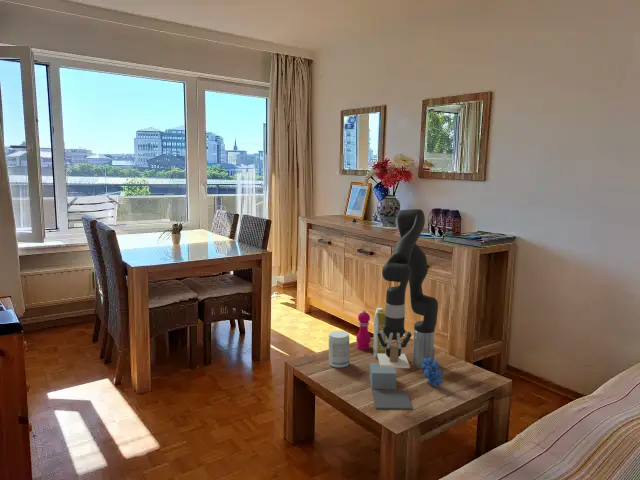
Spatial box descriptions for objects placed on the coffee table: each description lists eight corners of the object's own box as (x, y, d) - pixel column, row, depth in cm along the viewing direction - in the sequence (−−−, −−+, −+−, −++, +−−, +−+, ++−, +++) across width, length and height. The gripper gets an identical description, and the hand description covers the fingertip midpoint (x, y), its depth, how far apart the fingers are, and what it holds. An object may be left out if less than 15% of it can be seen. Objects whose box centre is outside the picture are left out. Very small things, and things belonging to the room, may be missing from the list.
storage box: (392, 378, 204) (392, 363, 203) (395, 389, 195) (396, 373, 193) (369, 378, 205) (369, 362, 203) (371, 388, 195) (372, 373, 194)
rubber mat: (406, 391, 193) (406, 390, 192) (412, 409, 179) (412, 408, 179) (372, 391, 193) (372, 389, 193) (375, 408, 179) (375, 407, 179)
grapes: (414, 381, 202) (415, 355, 200) (425, 378, 205) (427, 352, 203) (433, 393, 192) (435, 365, 190) (445, 389, 195) (447, 362, 193)
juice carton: (373, 351, 233) (374, 305, 229) (389, 352, 232) (391, 306, 228) (372, 359, 224) (374, 311, 220) (389, 360, 223) (391, 311, 219)
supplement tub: (353, 364, 218) (354, 334, 216) (339, 370, 212) (339, 339, 209) (338, 357, 225) (338, 328, 223) (324, 363, 219) (324, 333, 216)
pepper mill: (371, 346, 240) (372, 308, 237) (368, 351, 234) (369, 312, 230) (358, 344, 243) (359, 306, 239) (354, 349, 236) (355, 311, 233)
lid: (404, 356, 189) (405, 340, 187) (409, 368, 178) (410, 351, 177) (377, 355, 189) (377, 340, 188) (380, 367, 178) (381, 351, 177)
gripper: (411, 311, 184) (409, 353, 186) (375, 310, 184) (374, 352, 187) (415, 317, 176) (412, 361, 179) (377, 317, 176) (376, 360, 179)
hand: (393, 356), depth 183 cm, fingers closed on lid, 3 cm apart
